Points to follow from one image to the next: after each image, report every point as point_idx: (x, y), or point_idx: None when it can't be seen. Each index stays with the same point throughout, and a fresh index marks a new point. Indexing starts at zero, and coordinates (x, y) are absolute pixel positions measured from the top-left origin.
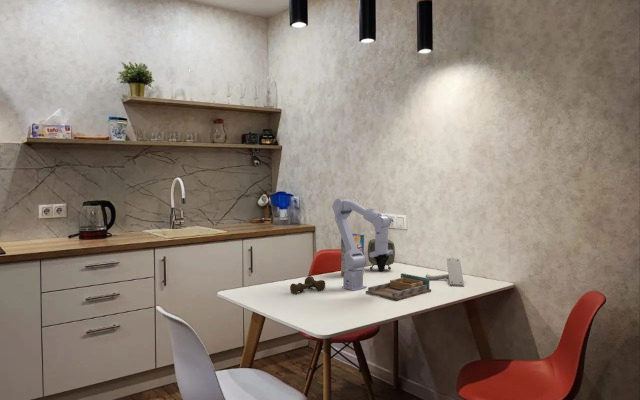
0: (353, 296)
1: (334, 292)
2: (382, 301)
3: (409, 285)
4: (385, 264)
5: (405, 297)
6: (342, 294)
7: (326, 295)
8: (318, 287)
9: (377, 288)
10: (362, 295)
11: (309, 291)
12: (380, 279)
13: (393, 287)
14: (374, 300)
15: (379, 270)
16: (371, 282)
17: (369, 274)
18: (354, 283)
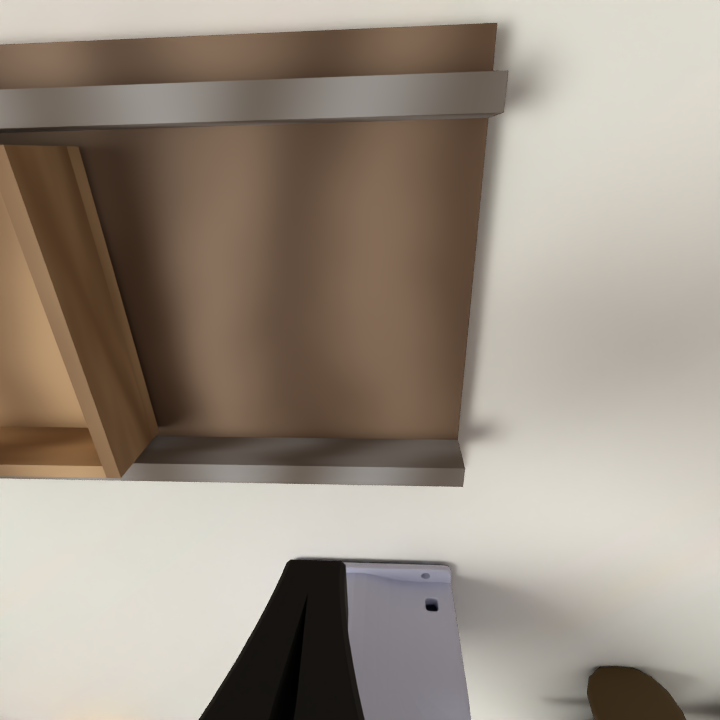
0: (617, 467)
1: (594, 608)
2: (625, 151)
3: (24, 170)
4: (217, 704)
5: (295, 36)
6: (612, 549)
7: (716, 594)
8: (668, 702)
9: (339, 449)
10: (532, 442)
11: (674, 695)
12: (29, 626)
13: (146, 394)
14: (638, 247)
15: (347, 614)
16: (146, 617)
17: (23, 715)
18: (428, 624)
